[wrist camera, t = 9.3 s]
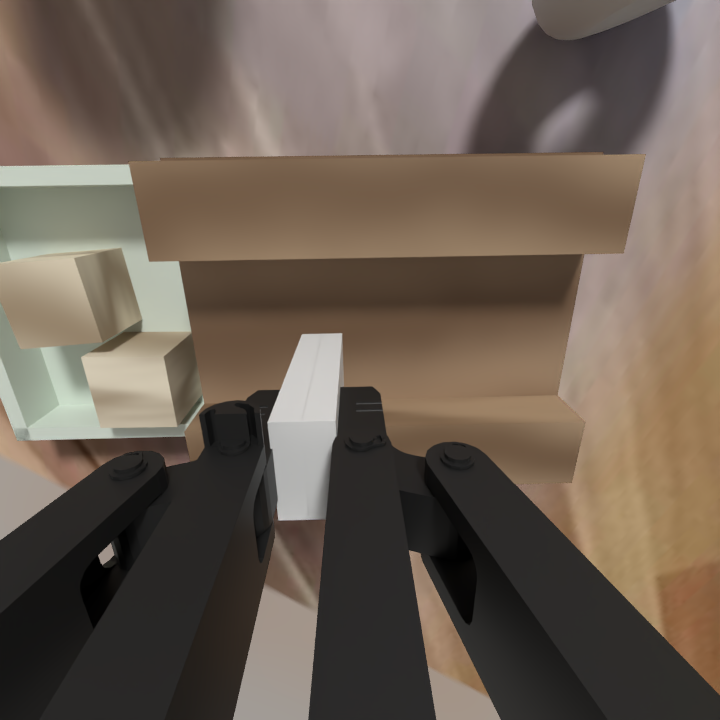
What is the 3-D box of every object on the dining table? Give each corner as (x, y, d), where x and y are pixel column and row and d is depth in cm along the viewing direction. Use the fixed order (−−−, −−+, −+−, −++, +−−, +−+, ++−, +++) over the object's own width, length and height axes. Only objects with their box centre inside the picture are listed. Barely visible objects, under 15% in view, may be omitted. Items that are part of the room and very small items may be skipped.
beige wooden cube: (193, 331, 23) (203, 393, 25) (123, 331, 23) (137, 393, 25) (163, 356, 20) (177, 426, 21) (81, 357, 20) (100, 427, 21)
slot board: (504, 401, 26) (570, 488, 18) (243, 407, 26) (197, 498, 18) (536, 164, 21) (648, 143, 13) (210, 168, 21) (126, 150, 13)
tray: (236, 407, 26) (221, 435, 23) (56, 411, 26) (17, 440, 23) (201, 169, 21) (175, 163, 18) (-25, 172, 21) (-90, 167, 18)
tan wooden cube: (20, 349, 19) (73, 324, 23) (102, 342, 19) (142, 319, 23) (-15, 265, 18) (47, 253, 22) (73, 258, 18) (121, 247, 22)
